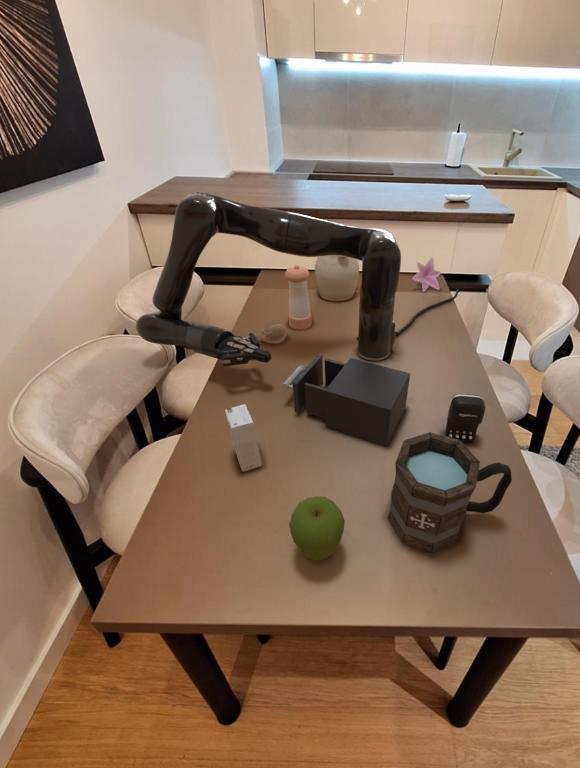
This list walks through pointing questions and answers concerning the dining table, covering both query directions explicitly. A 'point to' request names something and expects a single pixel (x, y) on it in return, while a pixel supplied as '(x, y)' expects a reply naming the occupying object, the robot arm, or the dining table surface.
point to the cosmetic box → (243, 437)
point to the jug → (336, 276)
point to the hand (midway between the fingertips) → (269, 357)
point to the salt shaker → (298, 298)
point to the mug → (438, 490)
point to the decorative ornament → (274, 334)
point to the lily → (427, 275)
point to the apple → (317, 527)
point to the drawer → (312, 385)
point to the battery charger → (464, 417)
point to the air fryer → (366, 401)
